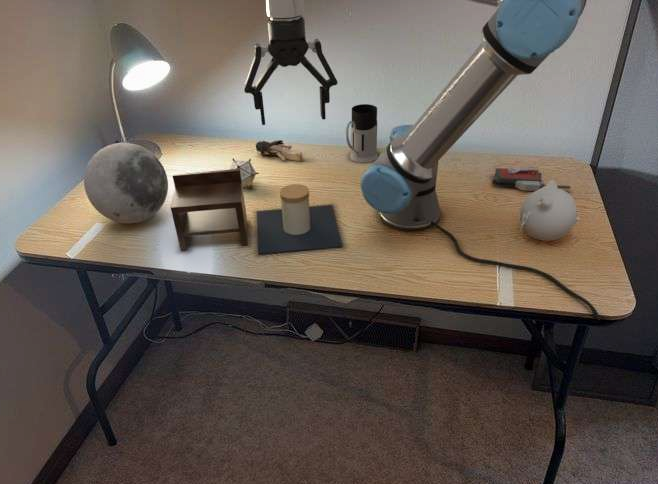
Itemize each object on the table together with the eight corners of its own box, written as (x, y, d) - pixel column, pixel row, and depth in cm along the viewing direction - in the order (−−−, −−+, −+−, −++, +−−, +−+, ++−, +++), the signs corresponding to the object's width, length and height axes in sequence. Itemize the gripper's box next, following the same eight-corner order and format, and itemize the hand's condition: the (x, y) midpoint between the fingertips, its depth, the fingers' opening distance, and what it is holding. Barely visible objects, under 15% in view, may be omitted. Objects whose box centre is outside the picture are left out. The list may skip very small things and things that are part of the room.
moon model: (86, 239, 135) (59, 165, 122) (111, 200, 150) (89, 131, 138) (165, 237, 134) (146, 163, 122) (182, 198, 150) (166, 128, 137)
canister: (309, 219, 138) (307, 183, 132) (312, 233, 132) (310, 196, 126) (282, 221, 137) (278, 185, 131) (283, 236, 132) (280, 199, 125)
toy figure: (305, 154, 171) (261, 148, 174) (305, 136, 166) (259, 130, 169) (299, 166, 166) (253, 160, 169) (298, 148, 161) (251, 142, 164)
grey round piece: (569, 259, 121) (583, 212, 113) (509, 246, 125) (519, 200, 118) (576, 227, 131) (590, 181, 123) (521, 216, 136) (531, 171, 128)
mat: (331, 206, 143) (331, 204, 143) (342, 247, 128) (342, 245, 128) (256, 212, 142) (256, 211, 142) (258, 255, 127) (258, 253, 126)
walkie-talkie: (492, 190, 147) (569, 194, 144) (494, 176, 144) (573, 179, 141) (489, 176, 154) (563, 179, 150) (492, 161, 151) (567, 164, 148)
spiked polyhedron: (246, 201, 155) (238, 186, 145) (225, 184, 157) (215, 168, 147) (267, 178, 156) (259, 162, 146) (245, 162, 158) (237, 145, 148)
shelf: (247, 222, 139) (240, 168, 129) (247, 245, 130) (239, 189, 121) (184, 227, 137) (172, 174, 128) (180, 251, 129) (167, 196, 120)
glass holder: (383, 154, 168) (384, 106, 158) (359, 172, 159) (360, 122, 149) (358, 148, 172) (359, 101, 162) (334, 165, 163) (333, 116, 153)
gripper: (343, 8, 113) (344, 109, 126) (223, 17, 110) (237, 119, 123) (350, 16, 107) (350, 120, 120) (223, 26, 105) (238, 131, 118)
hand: (293, 120), depth 122 cm, fingers open, 13 cm apart
